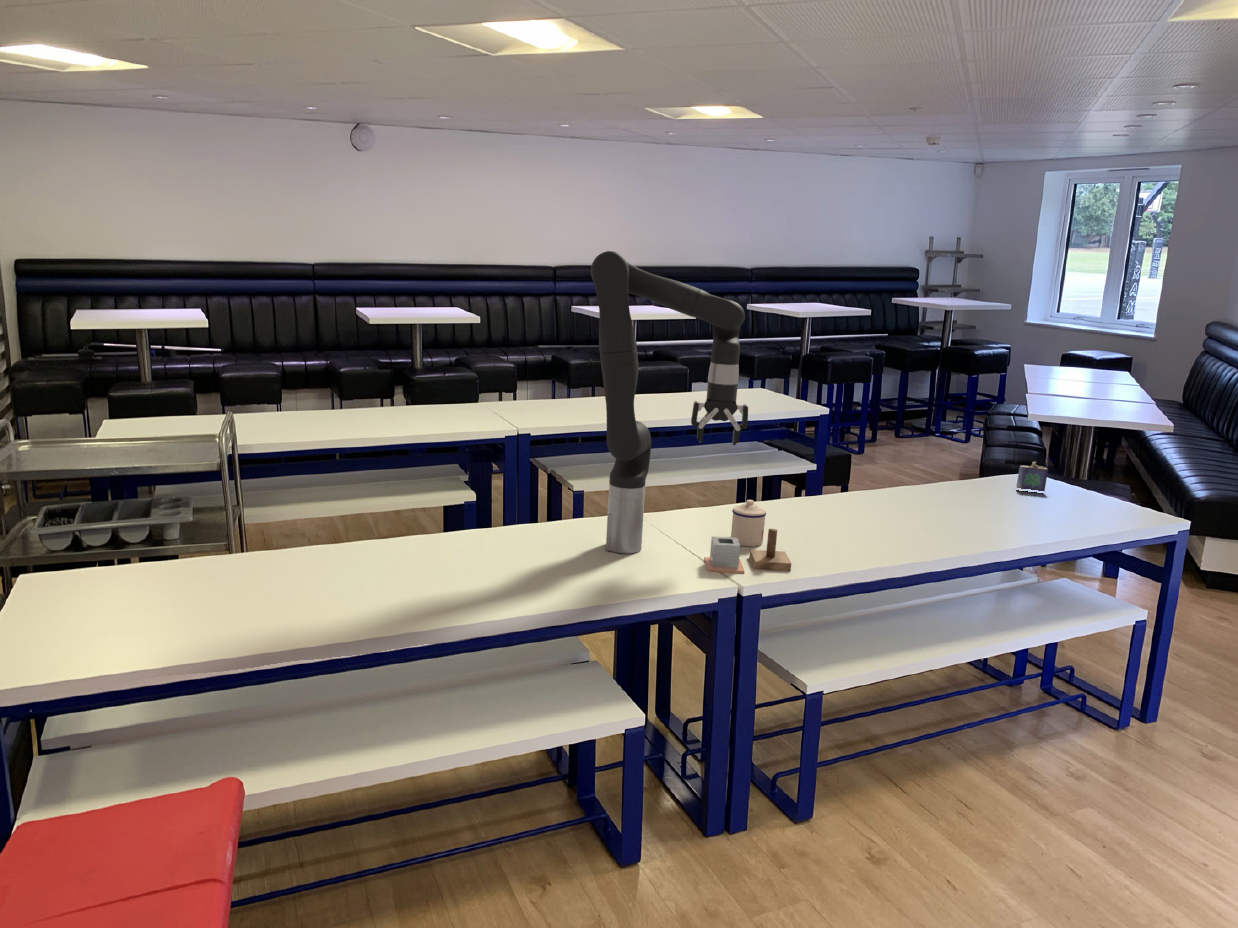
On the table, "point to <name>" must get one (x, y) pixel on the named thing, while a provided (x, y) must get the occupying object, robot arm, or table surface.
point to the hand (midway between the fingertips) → (717, 443)
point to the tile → (710, 569)
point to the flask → (1032, 477)
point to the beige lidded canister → (748, 524)
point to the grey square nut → (724, 552)
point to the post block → (770, 556)
